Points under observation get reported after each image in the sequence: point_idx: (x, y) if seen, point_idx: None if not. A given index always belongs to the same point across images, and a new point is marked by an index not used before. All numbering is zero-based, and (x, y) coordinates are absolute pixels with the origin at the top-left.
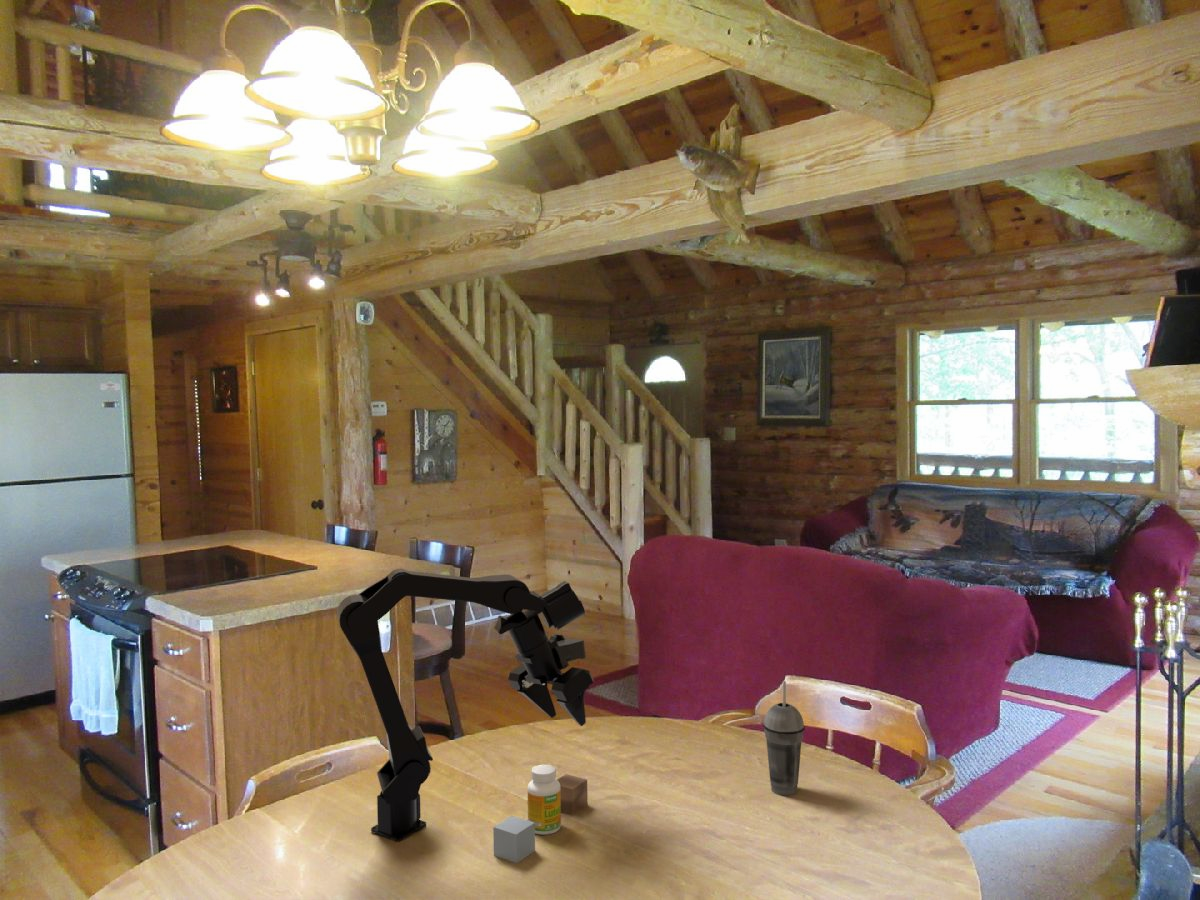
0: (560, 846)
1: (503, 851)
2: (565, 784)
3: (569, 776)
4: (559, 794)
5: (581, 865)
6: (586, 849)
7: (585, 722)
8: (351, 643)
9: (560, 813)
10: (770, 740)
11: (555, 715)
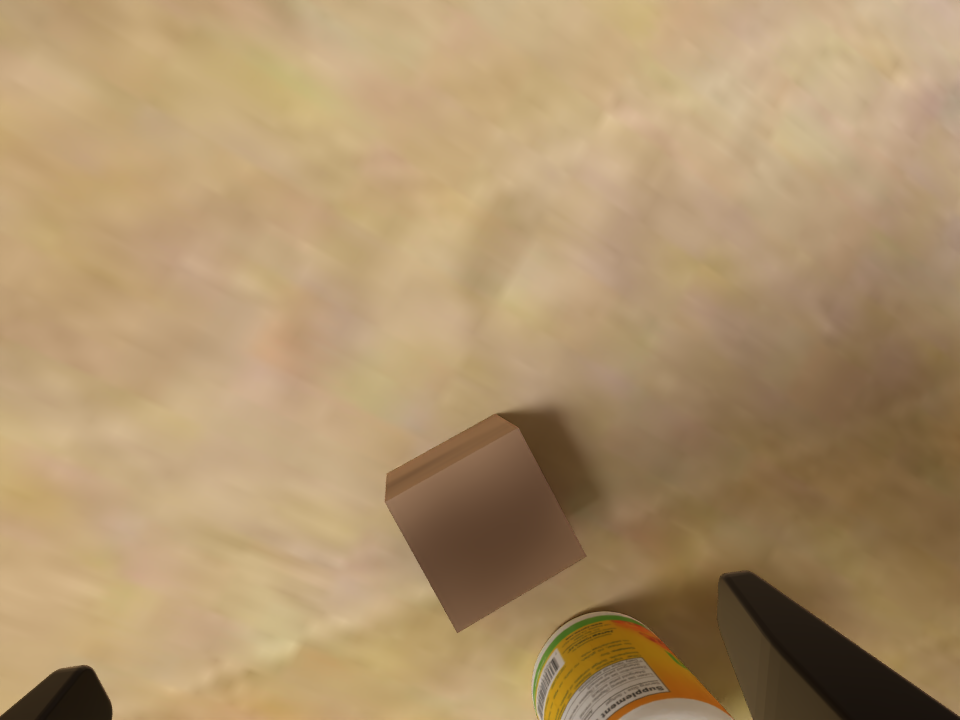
0: None
1: None
2: (515, 566)
3: (427, 499)
4: (725, 710)
5: (920, 661)
6: (833, 595)
7: (750, 575)
8: None
9: (667, 649)
10: None
11: (94, 672)
